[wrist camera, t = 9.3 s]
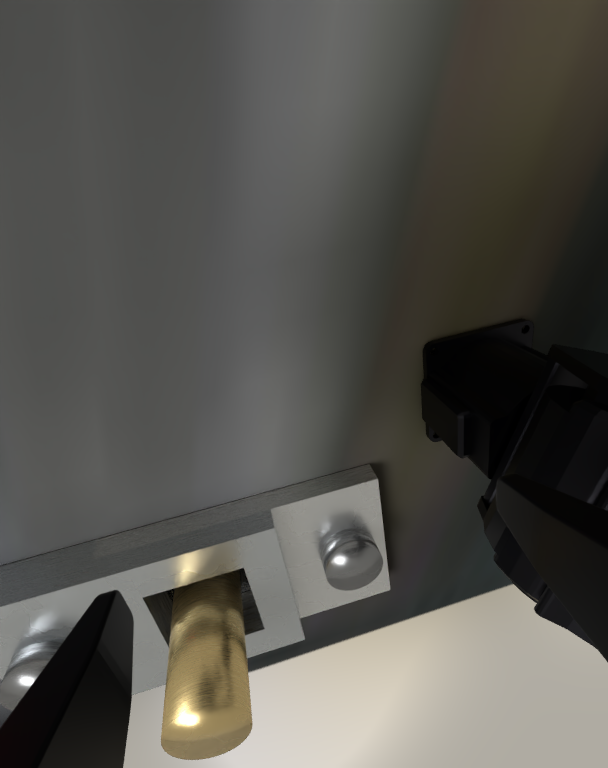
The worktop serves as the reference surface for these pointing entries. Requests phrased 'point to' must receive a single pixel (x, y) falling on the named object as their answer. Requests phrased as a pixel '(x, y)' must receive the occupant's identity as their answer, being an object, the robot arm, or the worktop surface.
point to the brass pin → (207, 671)
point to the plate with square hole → (202, 574)
